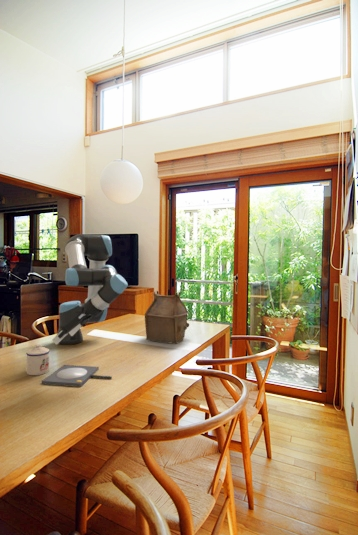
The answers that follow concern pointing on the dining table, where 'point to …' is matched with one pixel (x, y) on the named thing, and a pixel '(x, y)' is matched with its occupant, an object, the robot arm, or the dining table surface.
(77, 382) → the warming pad
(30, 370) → the teacup with lid
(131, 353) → the dining table surface
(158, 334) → the hut
